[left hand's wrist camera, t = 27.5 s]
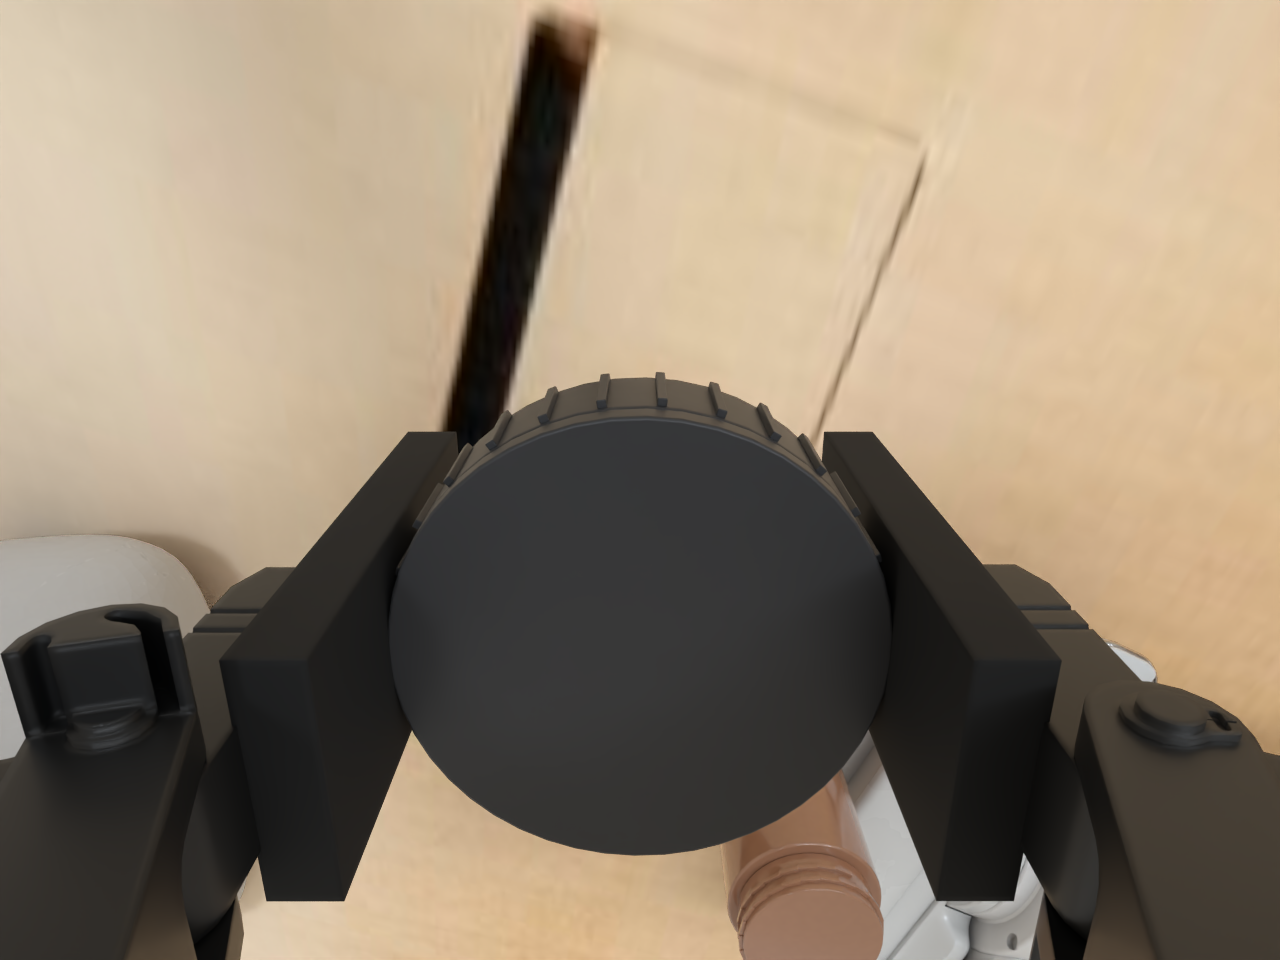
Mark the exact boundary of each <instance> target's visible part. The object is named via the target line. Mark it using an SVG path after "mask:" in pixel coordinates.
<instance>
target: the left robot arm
mask: <svg viewBox="0 0 1280 960" xmlns="http://www.w3.org/2000/svg"><path fill="white" fill-rule="evenodd" d="M457 457H458V446H457V433H456V432H408V433H407V434H406V435H405V436H404V438H403V439H402V440H401V441H400V442H399V444H398V445H397V446H396V447H395V448H394V450H393V451H392V452H391V453H390V454H389V456H388V457H387V458H386V459H385V460H384V462H383V463H382V464H381V465H380V466H379V468H378V469H377V470H376V471H375V472H374V474H373V475H372V476H371V477H370V479H369V480H368V481H367V482H366V483H365V485H364V486H363V487H362V488H361V489H360V491H359V492H358V493H357V494H356V495H355V497H354V498H353V499H352V500H351V501H350V503H349V504H348V505H347V506H346V507H345V509H344V510H343V511H342V512H341V513H340V515H339V516H338V517H337V518H336V520H335V521H334V522H333V523H332V524H331V526H330V527H329V528H328V529H327V530H326V532H325V533H324V534H323V535H322V536H321V538H320V539H319V540H318V541H317V542H316V544H315V545H314V546H313V547H312V548H311V550H310V551H309V552H308V553H307V554H306V556H305V557H304V558H303V559H302V561H301V562H300V563H299V564H298V565H297V567H266V568H264V569H262V570H261V571H259V572H257V573H255V574H253V575H252V576H250V577H248V578H246V579H244V580H243V581H241V582H239V583H237V584H235V585H234V586H232V587H231V588H230V589H229V590H228V591H227V592H226V593H225V594H224V595H223V596H222V597H221V598H220V600H219V601H218V602H217V603H216V604H215V605H214V606H213V607H212V608H211V609H210V610H211V612H210V614H205V615H204V617H203V618H202V619H201V620H200V621H199V622H198V623H197V624H196V625H195V626H194V627H193V632H192V633H188V634H187V635H186V636H185V637H184V638H183V639H182V634H181V629H180V625H179V620H178V616H176V615H175V614H174V613H172V612H171V611H169V610H168V609H166V608H165V607H160V606H154V605H149V604H143V603H136V604H114V605H107V606H102V607H97V608H92V609H87V610H82V611H78V612H75V613H72V614H69V615H66V616H63V617H61V618H58V619H55V620H52V621H49V622H46V623H44V624H42V625H40V626H39V627H37V628H35V629H33V630H31V631H29V632H27V633H26V634H24V635H22V636H20V637H18V638H17V639H16V640H15V641H14V642H13V643H12V644H11V645H9V646H8V647H7V648H6V649H5V650H4V651H3V652H2V653H1V658H2V661H3V664H4V668H5V671H6V674H7V678H8V681H9V684H10V688H11V691H12V694H13V698H14V701H15V704H16V708H17V711H18V714H19V718H20V721H21V724H22V728H23V731H24V734H25V740H24V742H23V743H22V745H21V747H20V749H19V750H18V752H17V754H16V756H15V757H12V758H8V759H3V760H0V960H240V957H241V950H242V943H243V936H244V930H243V923H242V915H241V910H240V905H239V901H238V896H237V893H238V892H239V890H240V888H241V886H242V884H243V882H244V881H245V879H246V877H247V875H248V873H249V871H250V869H251V868H252V866H253V864H254V862H255V860H256V858H257V857H258V860H259V865H260V870H261V875H262V881H263V886H264V891H265V896H266V901H345V898H346V895H347V893H348V890H349V888H350V885H351V883H352V880H353V878H354V875H355V873H356V870H357V868H358V865H359V863H360V860H361V857H362V855H363V852H364V850H365V847H366V845H367V842H368V840H369V837H370V835H371V832H372V830H373V827H374V825H375V822H376V819H377V817H378V814H379V812H380V809H381V807H382V804H383V802H384V799H385V797H386V794H387V792H388V789H389V787H390V784H391V781H392V779H393V776H394V774H395V771H396V769H397V766H398V764H399V761H400V759H401V756H402V754H403V751H404V749H405V746H406V743H407V741H408V738H409V736H410V733H411V731H412V729H411V727H410V724H409V722H408V720H407V718H406V716H405V714H404V712H403V710H402V708H401V705H400V701H399V698H398V695H397V692H396V689H395V686H394V681H393V672H392V664H391V656H390V647H389V638H388V617H389V610H390V603H391V596H392V592H393V588H394V585H395V582H396V578H397V576H396V575H395V571H396V568H397V566H398V564H399V562H400V561H401V559H402V557H403V556H404V554H405V552H406V551H407V549H408V547H409V545H410V544H411V542H412V540H413V538H414V536H415V534H416V533H417V531H418V529H416V528H414V527H412V526H413V524H414V522H415V520H416V518H417V517H418V515H419V514H420V512H421V510H422V509H423V507H424V505H425V504H426V502H427V500H428V499H429V497H430V496H431V494H432V492H433V491H434V489H435V487H436V486H437V484H438V483H440V484H442V485H445V484H444V483H443V481H444V479H445V477H446V476H447V474H448V472H449V471H450V469H451V467H452V466H453V464H454V462H455V461H456V459H457ZM822 463H823V464H824V466H825V468H826V469H827V471H828V473H829V475H830V474H831V473H833V472H836V473H837V475H838V476H839V478H840V479H841V481H842V483H843V484H844V486H845V488H846V489H847V491H848V493H849V494H850V496H851V497H852V499H853V501H854V502H855V504H856V506H857V507H858V509H859V510H860V512H861V514H860V515H859V516H858V518H859V520H860V521H861V523H862V525H863V526H864V528H865V530H866V531H867V533H868V535H869V536H870V538H871V540H872V541H873V543H874V545H875V546H876V548H877V550H878V551H879V553H880V555H881V558H882V562H880V563H879V565H880V567H881V570H882V572H883V575H884V578H885V582H886V586H887V591H888V595H889V599H890V603H891V612H892V624H893V635H892V644H891V653H890V662H889V670H888V677H887V684H886V688H885V692H884V695H883V698H882V700H881V703H880V706H879V708H878V711H877V713H876V716H875V719H874V720H873V722H872V724H871V726H870V728H869V732H870V735H871V737H872V740H873V742H874V745H875V747H876V750H877V752H878V755H879V757H880V760H881V762H882V765H883V767H884V770H885V772H886V775H887V778H888V780H889V783H890V785H891V788H892V790H893V793H894V795H895V798H896V800H897V803H898V805H899V808H900V810H901V813H902V816H903V818H904V821H905V823H906V826H907V828H908V831H909V833H910V836H911V838H912V841H913V843H914V846H915V848H916V851H917V854H918V856H919V859H920V861H921V864H922V866H923V869H924V871H925V874H926V876H927V879H928V881H929V884H930V886H931V889H932V892H933V894H934V897H935V899H936V901H1014V899H1015V894H1016V889H1017V884H1018V878H1019V873H1020V868H1021V863H1022V858H1023V853H1024V855H1025V856H1026V858H1027V860H1028V862H1029V864H1030V866H1031V867H1032V869H1033V871H1034V873H1035V875H1036V877H1037V878H1038V880H1039V882H1040V884H1041V886H1042V887H1043V889H1044V891H1043V896H1042V901H1041V905H1040V910H1039V915H1038V919H1037V924H1036V929H1035V933H1034V938H1033V943H1032V947H1031V952H1030V957H1029V960H1280V756H1279V755H1274V754H1270V753H1266V752H1263V750H1262V749H1261V747H1260V745H1259V743H1258V742H1257V740H1256V738H1255V737H1254V735H1253V734H1252V733H1251V732H1250V731H1249V730H1248V729H1247V728H1246V727H1245V725H1244V724H1243V723H1242V722H1241V721H1240V720H1239V719H1238V718H1237V717H1235V716H1234V715H1232V714H1231V713H1229V712H1227V711H1226V710H1224V709H1223V708H1221V707H1220V706H1218V705H1217V704H1215V703H1213V702H1212V701H1209V700H1207V699H1204V698H1202V697H1200V696H1197V695H1195V694H1192V693H1190V692H1187V691H1185V690H1183V689H1179V688H1175V687H1171V686H1167V685H1162V684H1158V683H1154V682H1150V681H1141V679H1140V678H1139V677H1138V676H1137V675H1136V674H1135V673H1134V672H1133V671H1132V670H1131V669H1130V668H1129V667H1128V666H1127V665H1126V664H1125V663H1124V662H1123V660H1122V659H1121V658H1120V657H1119V656H1118V655H1117V654H1116V653H1115V652H1114V651H1113V650H1112V649H1111V648H1110V647H1109V646H1108V645H1107V644H1106V643H1105V641H1104V640H1103V639H1102V638H1101V637H1100V636H1099V635H1098V634H1097V633H1096V632H1095V631H1094V630H1093V629H1089V628H1088V624H1087V623H1086V621H1085V620H1084V619H1083V618H1082V617H1081V616H1080V615H1079V614H1078V613H1077V612H1076V611H1075V610H1071V606H1070V605H1069V604H1068V602H1067V601H1066V600H1065V599H1064V598H1063V597H1062V596H1061V595H1060V594H1059V593H1058V592H1057V591H1056V590H1055V589H1054V588H1053V587H1052V586H1051V585H1050V584H1049V583H1048V582H1046V581H1044V580H1042V579H1040V578H1039V577H1037V576H1035V575H1033V574H1031V573H1029V572H1028V571H1026V570H1024V569H1022V568H1020V567H1019V566H1017V565H982V563H981V562H980V561H979V560H978V559H977V557H976V556H975V555H974V554H973V553H972V551H971V550H970V549H969V548H968V547H967V545H966V544H965V543H964V542H963V541H962V539H961V538H960V537H959V536H958V534H957V533H956V532H955V531H954V530H953V528H952V527H951V526H950V525H949V524H948V522H947V521H946V520H945V519H944V518H943V516H942V515H941V514H940V513H939V512H938V510H937V509H936V508H935V507H934V506H933V504H932V503H931V502H930V501H929V500H928V498H927V497H926V496H925V495H924V493H923V492H922V491H921V490H920V489H919V487H918V486H917V485H916V484H915V483H914V481H913V480H912V479H911V478H910V477H909V475H908V474H907V473H906V472H905V471H904V469H903V468H902V467H901V466H900V465H899V463H898V462H897V461H896V460H895V459H894V457H893V456H892V455H891V454H890V452H889V451H888V450H887V449H886V448H885V446H884V445H883V444H882V443H881V442H880V440H879V439H878V438H877V437H876V436H875V434H874V433H873V432H824V441H823V453H822Z"/></svg>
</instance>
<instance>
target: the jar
mask: <svg viewBox="0 0 1280 960" xmlns="http://www.w3.org/2000/svg"><path fill="white" fill-rule="evenodd" d="M720 849H721V858H722V866H723V875H724V883H725V892H726V901H727V909H728V915H729V918H730V921H731V923H732V925H733V927H734V929H735V930H736V931H737V933H738V939H739V949H740V953H741V955H742V957H743V960H877V958H878V956H879V954H880V952H881V948H882V945H883V935H884V919H883V916H882V913H881V910H880V906H881V897H882V896H881V887H880V883H879V880H878V877H877V873H876V870H875V867H874V864H873V861H872V858H871V855H870V852H869V849H868V846H867V843H866V840H865V837H864V834H863V831H862V828H861V825H860V822H859V819H858V815H857V812H856V809H855V806H854V803H853V800H852V797H851V794H850V791H849V788H848V785H847V782H846V779H845V776H844V773H843V770H842V769H841V770H840V771H839V772H838V773H837V774H836V775H835V776H834V777H833V778H832V779H831V780H830V781H829V782H828V783H827V784H826V785H825V786H824V787H823V788H822V789H821V790H820V791H818V792H817V793H816V794H815V795H813V796H812V797H811V798H810V799H809V800H807V801H806V802H805V803H804V804H802V805H801V806H799V807H798V808H796V809H795V810H793V811H792V812H790V813H788V814H787V815H785V816H784V817H782V818H781V819H779V820H777V821H775V822H773V823H771V824H769V825H767V826H765V827H763V828H761V829H759V830H757V831H755V832H753V833H751V834H748V835H745V836H743V837H740V838H737V839H734V840H731V841H729V842H726V843H723V844H720Z"/></svg>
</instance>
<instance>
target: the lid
mask: <svg viewBox="0 0 1280 960" xmlns="http://www.w3.org/2000/svg"><path fill="white" fill-rule="evenodd" d="M443 483H444V484H445V485H442V484H440V483H438V484H437V486H436V487H435V489H434V491H433V492H432V494H431V496H430V497H429V499H428V500H427V502H426V504H425V505H424V507H423V509H422V510H421V512H420V514H419V515H418V517H417V518H416V520H415V522H414V524H413V526H412V527H414V528H416V529H418V531H417V533H416V534H415V536H414V538H413V540H412V542H411V544H410V545H409V547H408V549H407V551H406V552H405V554H404V556H403V557H402V559H401V561H400V562H399V564H398V566H397V568H396V571H395V575H396V576H397V578H396V582H395V585H394V588H393V592H392V596H391V603H390V610H389V617H388V638H389V647H390V656H391V664H392V672H393V681H394V686H395V689H396V692H397V695H398V698H399V701H400V705H401V708H402V710H403V712H404V714H405V716H406V718H407V720H408V722H409V724H410V727H411V729H412V731H413V733H414V735H415V736H416V738H417V739H418V741H419V742H420V744H421V745H422V747H423V748H424V750H425V751H426V753H427V754H428V756H429V757H430V758H431V760H432V761H433V762H434V763H435V764H436V765H437V766H438V768H439V769H440V770H441V771H442V772H443V773H444V774H445V776H446V777H447V778H448V779H449V780H450V781H451V782H452V783H453V784H455V785H456V786H457V787H458V788H459V789H460V790H461V791H462V792H464V793H465V794H466V795H467V796H468V797H469V798H470V799H472V800H473V801H475V802H476V803H477V804H479V805H480V806H482V807H483V808H485V809H486V810H487V811H489V812H490V813H492V814H493V815H495V816H497V817H498V818H500V819H502V820H504V821H506V822H508V823H510V824H511V825H513V826H515V827H517V828H519V829H521V830H523V831H526V832H528V833H531V834H533V835H536V836H538V837H541V838H543V839H546V840H548V841H552V842H555V843H559V844H562V845H566V846H569V847H573V848H577V849H583V850H588V851H594V852H600V853H606V854H620V855H634V856H635V855H665V854H672V853H680V852H687V851H694V850H698V849H703V848H707V847H711V846H715V845H719V844H723V843H726V842H729V841H731V840H734V839H737V838H740V837H743V836H745V835H748V834H751V833H753V832H755V831H757V830H759V829H761V828H763V827H765V826H767V825H769V824H771V823H773V822H775V821H777V820H779V819H781V818H782V817H784V816H785V815H787V814H788V813H790V812H792V811H793V810H795V809H796V808H798V807H799V806H801V805H802V804H804V803H805V802H806V801H807V800H809V799H810V798H811V797H812V796H813V795H815V794H816V793H817V792H818V791H820V790H821V789H822V788H823V787H824V786H825V785H826V784H827V783H828V782H829V781H830V780H831V779H832V778H833V777H834V776H835V775H836V774H837V773H838V772H839V771H840V770H841V769H842V768H843V767H844V765H845V764H846V763H847V761H848V760H849V759H850V757H851V756H852V755H853V753H854V752H855V751H856V749H857V748H858V747H859V745H860V744H861V742H862V740H863V739H864V737H865V735H866V733H867V731H868V729H869V728H870V726H871V724H872V722H873V720H874V719H875V716H876V713H877V711H878V708H879V706H880V703H881V700H882V698H883V695H884V692H885V688H886V684H887V677H888V670H889V662H890V653H891V644H892V635H893V624H892V612H891V603H890V599H889V595H888V591H887V586H886V582H885V578H884V575H883V572H882V570H881V567H880V565H879V563H880V562H882V558H881V555H880V553H879V551H878V550H877V548H876V546H875V545H874V543H873V541H872V540H871V538H870V536H869V535H868V533H867V531H866V530H865V528H864V526H863V525H862V523H861V521H860V520H859V518H858V516H859V515H860V514H861V512H860V510H859V509H858V507H857V506H856V504H855V502H854V501H853V499H852V497H851V496H850V494H849V493H848V491H847V489H846V488H845V486H844V484H843V483H842V481H841V479H840V478H839V476H838V475H837V473H836V472H833V473H831V474H830V475H829V473H828V471H827V469H826V468H825V466H824V464H823V463H822V461H821V459H820V458H819V456H818V454H817V452H816V451H815V449H814V447H813V446H812V444H811V442H810V441H809V439H808V438H807V437H806V436H805V435H804V434H803V433H802V434H801V435H800V436H799V437H797V436H795V435H794V434H793V433H792V432H791V431H790V430H789V429H788V428H787V427H785V426H784V425H782V424H781V423H779V422H778V421H777V420H775V419H774V418H773V417H772V415H771V413H770V411H769V409H768V407H767V406H766V405H764V404H762V403H759V405H758V407H757V408H756V407H754V406H752V405H750V404H748V403H747V402H745V401H743V400H741V399H739V398H737V397H734V396H731V395H729V394H726V393H723V392H721V390H720V387H719V384H717V383H714V382H710V384H709V387H706V386H701V385H697V384H692V383H687V382H683V381H678V380H668V379H665V373H662V372H656V377H655V378H622V379H611V380H610V374H602V375H601V376H600V381H599V382H593V383H587V384H583V385H579V386H576V387H573V388H569V389H566V390H563V391H560V392H558V390H557V388H556V387H553V388H550V389H548V391H547V393H546V396H545V398H543V399H540V400H538V401H536V402H534V403H532V404H530V405H527V406H526V407H524V408H522V409H521V410H519V411H518V412H516V413H514V414H513V415H511V413H510V412H509V411H508V410H507V411H505V412H504V413H502V414H501V416H500V418H499V420H498V421H497V423H496V425H495V427H494V428H493V429H492V430H491V431H490V432H489V433H487V434H486V435H485V436H484V437H483V438H481V439H480V440H479V441H478V442H477V443H476V445H475V446H474V447H472V446H471V445H470V444H469V443H467V444H466V445H465V447H464V448H463V449H462V451H461V452H460V454H459V456H458V457H457V459H456V461H455V462H454V464H453V466H452V467H451V469H450V471H449V472H448V474H447V476H446V477H445V479H444V481H443Z"/></svg>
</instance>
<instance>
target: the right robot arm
mask: <svg viewBox="0 0 1280 960" xmlns="http://www.w3.org/2000/svg"><path fill="white" fill-rule="evenodd" d="M1103 640H1104V641H1105V643H1106V644H1107V645H1108V646H1109V647H1110V648H1111V649H1112V650H1113V651H1114V652H1115V653H1116V654H1117V655H1118V656H1119V657H1120V658H1121V659H1122V660H1123V662H1124V663H1125V664H1126V665H1127V666H1128V667H1129V668H1130V669H1131V670H1132V671H1133V672H1134V673H1135V674H1136V675H1137V676H1138V677H1139V678H1140V679H1141V681H1150V682H1154V683H1157V680H1158V679H1157V673H1156V670H1155V668H1154V666H1153V664H1152V663H1151V662H1150V661H1149V659H1148V658H1146V657H1145V656H1144V655H1142V654H1140V653H1138V652H1136V651H1134V650H1132V649H1129V648H1127V647H1125V646H1123V645H1121V644H1119V643H1117V642H1114V641H1111V640H1107V639H1103ZM842 770H843V773H844V776H845V779H846V782H847V785H848V788H849V791H850V794H851V797H852V800H853V803H854V806H855V809H856V812H857V815H858V819H859V822H860V825H861V828H862V831H863V834H864V837H865V840H866V843H867V846H868V849H869V852H870V855H871V858H872V861H873V864H874V867H875V870H876V873H877V877H878V880H879V883H880V887H881V896H882V897H881V906H880V910H881V913H882V916H883V919H884V935H883V945H882V948H881V952H880V954H879V956H878V958H877V960H1029V957H1030V952H1031V947H1032V943H1033V938H1034V933H1035V929H1036V924H1037V919H1038V915H1039V910H1040V905H1041V901H1042V896H1043V891H1044V889H1043V887H1042V886H1041V884H1040V882H1039V880H1038V878H1037V877H1036V875H1035V873H1034V871H1033V869H1032V867H1031V866H1030V864H1029V862H1028V860H1027V858H1026V856H1025V855H1024V853H1023V858H1022V863H1021V868H1020V873H1019V878H1018V884H1017V889H1016V894H1015V899H1014V901H936V899H935V897H934V894H933V892H932V889H931V886H930V884H929V881H928V879H927V876H926V874H925V871H924V869H923V866H922V864H921V861H920V859H919V856H918V854H917V851H916V848H915V846H914V843H913V841H912V838H911V836H910V833H909V831H908V828H907V826H906V823H905V821H904V818H903V816H902V813H901V810H900V808H899V805H898V803H897V800H896V798H895V795H894V793H893V790H892V788H891V785H890V783H889V780H888V778H887V775H886V772H885V770H884V767H883V765H882V762H881V760H880V757H879V755H878V752H877V750H876V747H875V745H874V742H873V740H872V737H871V735H870V732H869V729H868V731H867V733H866V735H865V737H864V739H863V740H862V742H861V744H860V745H859V747H858V748H857V749H856V751H855V752H854V753H853V755H852V756H851V757H850V759H849V760H848V761H847V763H846V764H845V765H844V767H843V768H842Z"/></svg>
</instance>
